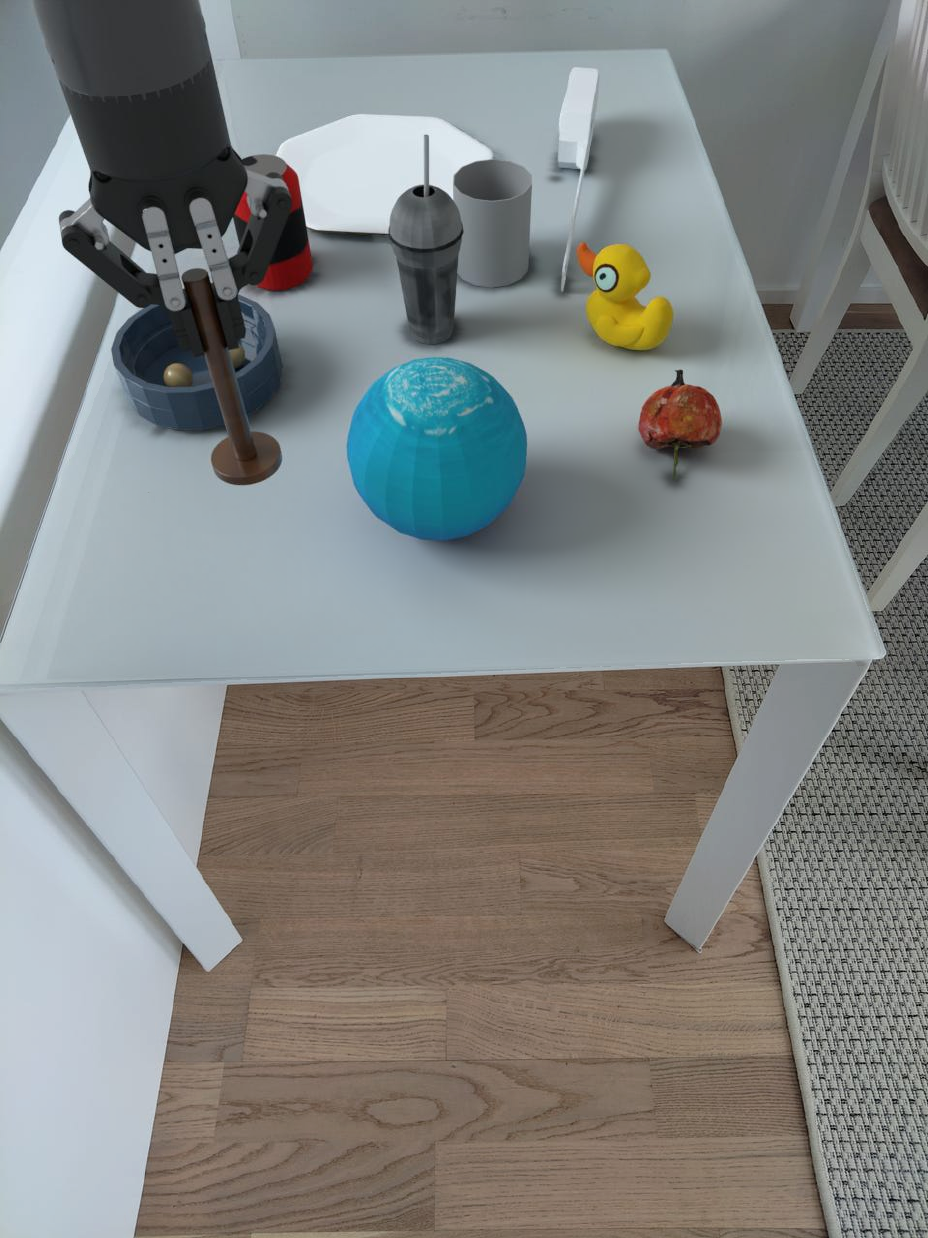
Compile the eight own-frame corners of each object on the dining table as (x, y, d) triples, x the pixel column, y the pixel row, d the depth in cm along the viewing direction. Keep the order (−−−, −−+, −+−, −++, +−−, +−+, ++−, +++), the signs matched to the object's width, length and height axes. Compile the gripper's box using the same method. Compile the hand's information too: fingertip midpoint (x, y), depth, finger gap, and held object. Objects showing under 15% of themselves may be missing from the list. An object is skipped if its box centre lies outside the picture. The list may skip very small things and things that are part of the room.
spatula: (525, 307, 104) (561, 311, 103) (527, 245, 97) (566, 249, 96) (565, 115, 123) (595, 117, 122) (569, 52, 116) (601, 54, 115)
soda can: (285, 245, 107) (266, 141, 98) (327, 271, 104) (311, 167, 95) (233, 272, 104) (207, 168, 95) (273, 300, 101) (251, 196, 91)
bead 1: (153, 378, 90) (167, 353, 90) (165, 391, 92) (178, 367, 93) (177, 388, 89) (191, 363, 89) (189, 401, 92) (202, 376, 92)
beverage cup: (386, 343, 97) (366, 154, 80) (414, 303, 100) (400, 115, 84) (450, 359, 95) (442, 169, 79) (476, 318, 99) (474, 129, 83)
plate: (245, 236, 109) (242, 224, 107) (297, 121, 125) (295, 110, 123) (477, 248, 106) (477, 236, 105) (500, 130, 122) (500, 118, 121)
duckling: (557, 330, 97) (563, 243, 89) (586, 305, 100) (595, 219, 92) (648, 373, 93) (664, 286, 85) (676, 346, 95) (694, 259, 87)
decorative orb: (356, 458, 87) (336, 323, 74) (515, 448, 87) (520, 312, 75) (357, 582, 78) (334, 453, 66) (533, 571, 78) (543, 440, 66)
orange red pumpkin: (712, 489, 86) (729, 383, 86) (712, 477, 79) (730, 362, 79) (633, 480, 88) (649, 377, 88) (626, 468, 81) (643, 356, 81)
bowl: (138, 450, 88) (121, 408, 84) (120, 351, 96) (103, 309, 92) (298, 412, 90) (289, 370, 86) (266, 320, 99) (257, 277, 95)
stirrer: (212, 489, 65) (149, 302, 53) (214, 443, 68) (155, 257, 57) (283, 481, 65) (235, 292, 54) (281, 435, 68) (236, 248, 57)
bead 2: (236, 379, 94) (210, 366, 92) (239, 360, 95) (214, 348, 94) (248, 360, 92) (221, 347, 90) (251, 342, 93) (225, 329, 92)
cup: (439, 268, 104) (436, 182, 96) (485, 236, 108) (486, 151, 100) (497, 296, 101) (499, 210, 93) (543, 262, 105) (548, 176, 96)
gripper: (-11, 112, 42) (113, 407, 56) (284, 62, 44) (332, 357, 58) (-16, 43, 46) (101, 334, 60) (254, 2, 48) (306, 290, 62)
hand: (215, 344), depth 59 cm, fingers closed on stirrer
